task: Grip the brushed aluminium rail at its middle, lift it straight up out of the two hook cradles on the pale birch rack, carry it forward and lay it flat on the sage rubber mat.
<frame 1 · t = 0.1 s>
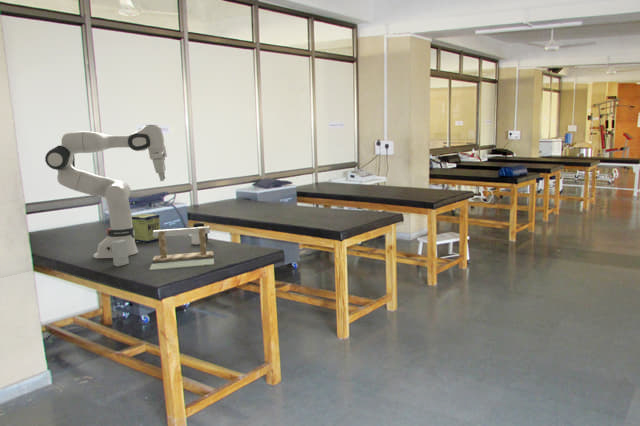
hand: (162, 180, 276), 39 cm above the table, tool pointing down, fingers open, 8 cm apart
protein box: (146, 240, 310), on the table
hook rack: (183, 257, 265), on the table
medicine bottle: (200, 243, 298), on the table
aluminium rail: (182, 234, 263), point 12 cm above the table, touching hook rack
skincare box: (121, 265, 254), on the table
sage mat: (182, 264, 250), on the table
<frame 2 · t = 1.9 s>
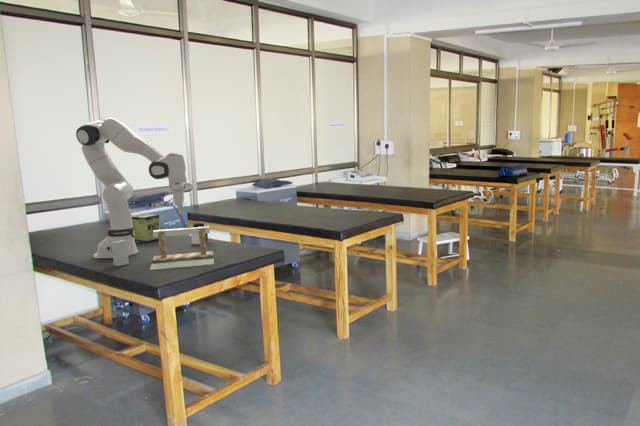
hand: (180, 211, 261), 24 cm above the table, tool pointing down, fingers open, 8 cm apart
nothing on the table moved.
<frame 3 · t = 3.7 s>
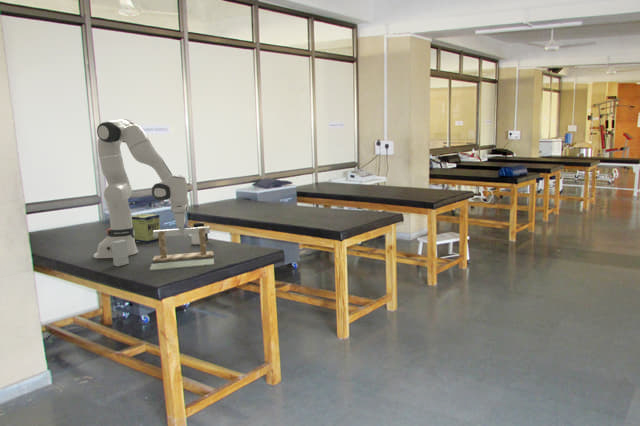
hand: (181, 233, 263), 13 cm above the table, tool pointing down, fingers closed on aluminium rail, 3 cm apart
aluminium rail: (182, 234, 263), point 12 cm above the table, touching gripper, hook rack
everything else where it was.
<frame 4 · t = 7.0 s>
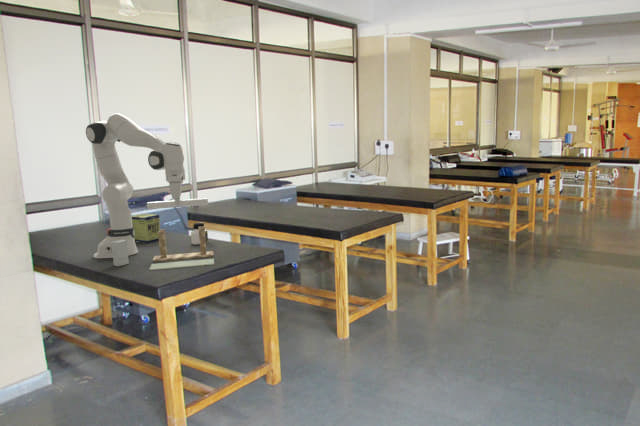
hand: (177, 205, 245), 29 cm above the table, tool pointing down, fingers closed on aluminium rail, 3 cm apart
aluminium rail: (178, 206, 245), point 29 cm above the table, touching gripper
everything else where it was.
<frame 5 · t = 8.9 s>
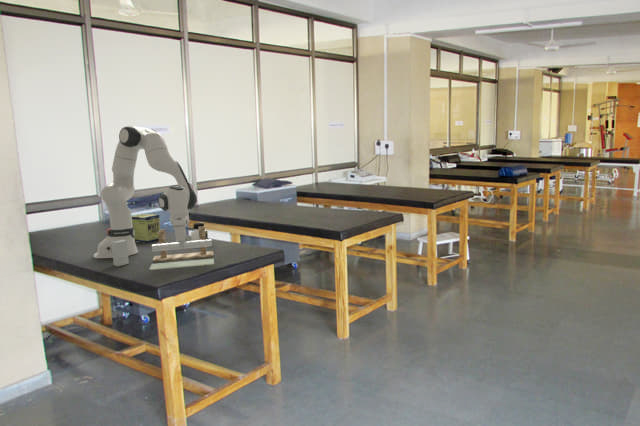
hand: (182, 247, 249), 9 cm above the table, tool pointing down, fingers closed on aluminium rail, 3 cm apart
aluminium rail: (182, 248, 249), point 8 cm above the table, touching gripper
everything else where it was.
when the fingers open (3 cm above the table, at t = 10.5 s): aluminium rail drops 1 cm, resting on sage mat.
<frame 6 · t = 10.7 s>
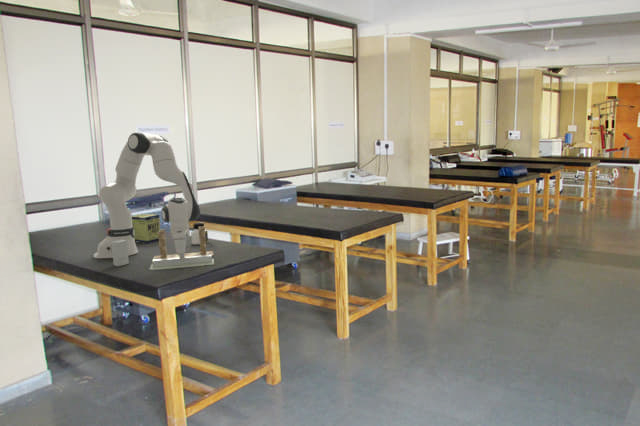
hand: (182, 259, 249), 3 cm above the table, tool pointing down, fingers open, 5 cm apart
aluminium rail: (182, 263, 250), point 1 cm above the table, touching sage mat
everything else where it was.
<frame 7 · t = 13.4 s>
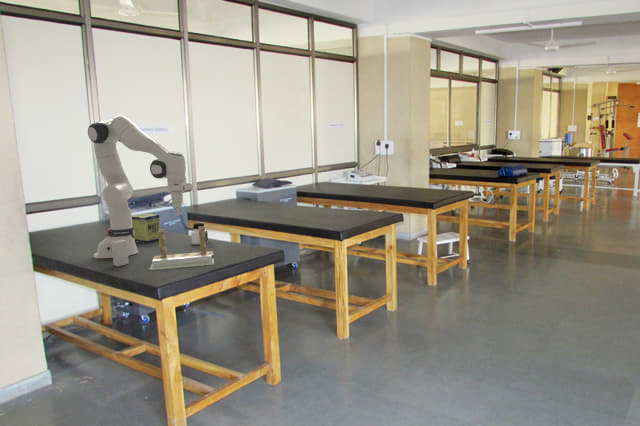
hand: (178, 214, 249), 25 cm above the table, tool pointing down, fingers open, 8 cm apart
nothing on the table moved.
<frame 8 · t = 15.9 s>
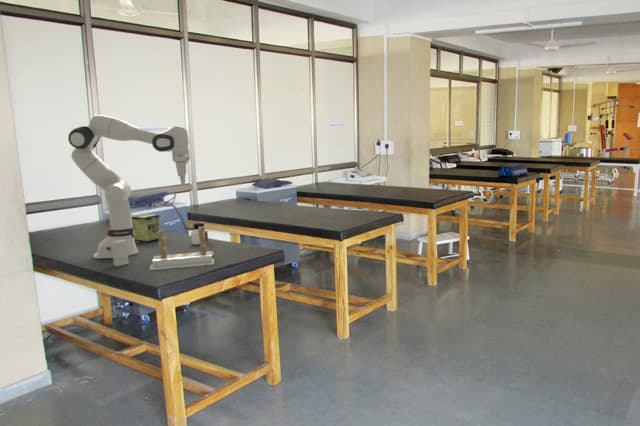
hand: (183, 183, 271), 37 cm above the table, tool pointing down, fingers open, 8 cm apart
nothing on the table moved.
at the end: aluminium rail inside the target area (0.1 cm from its centre), point 0.6 cm above the table; aluminium rail tilted 0°; the gripper is holding nothing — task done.
